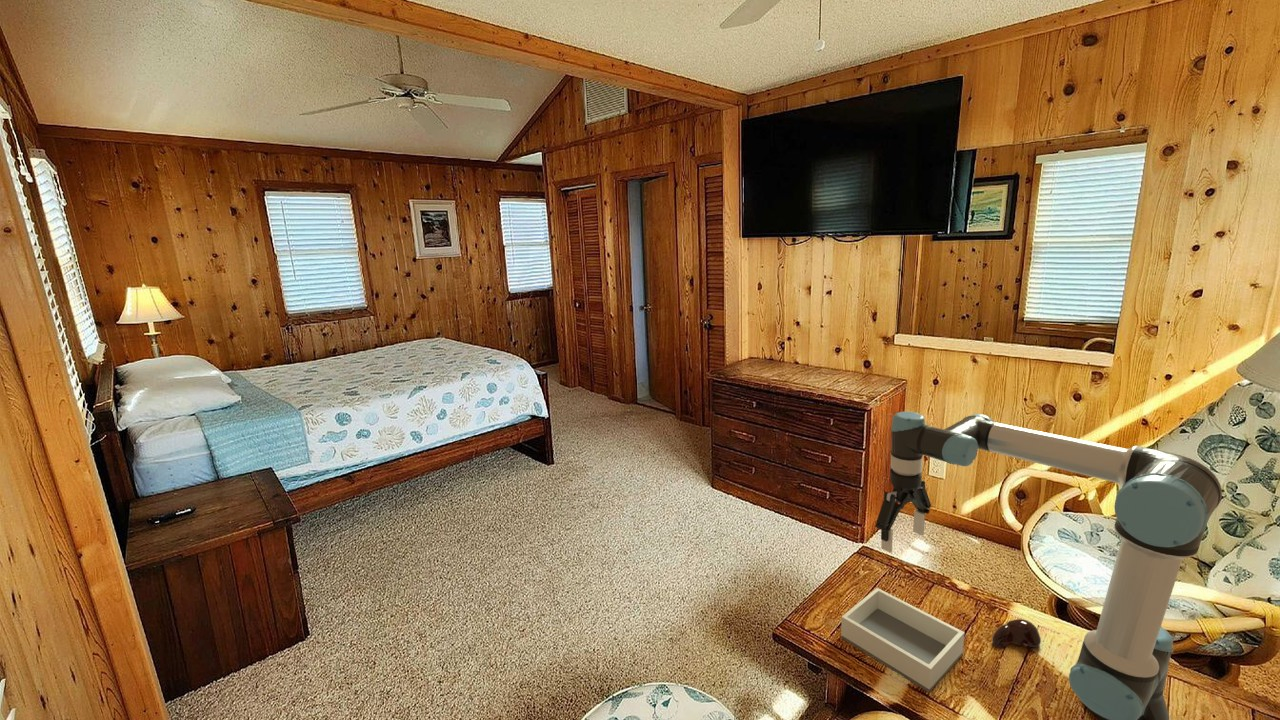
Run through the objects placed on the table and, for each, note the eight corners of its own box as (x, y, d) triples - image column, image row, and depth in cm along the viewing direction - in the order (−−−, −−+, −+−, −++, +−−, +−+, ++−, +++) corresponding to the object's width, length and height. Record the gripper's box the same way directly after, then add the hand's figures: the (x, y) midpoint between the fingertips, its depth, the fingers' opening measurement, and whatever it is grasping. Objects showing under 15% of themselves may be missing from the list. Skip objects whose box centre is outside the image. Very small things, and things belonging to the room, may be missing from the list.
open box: (962, 654, 141) (964, 632, 140) (929, 692, 131) (931, 669, 129) (876, 607, 160) (876, 587, 158) (841, 638, 150) (841, 616, 148)
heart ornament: (1035, 642, 147) (1050, 648, 137) (986, 644, 150) (998, 650, 140) (1027, 616, 149) (1041, 620, 140) (979, 619, 152) (990, 623, 143)
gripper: (921, 452, 151) (918, 520, 156) (861, 478, 139) (860, 550, 144) (948, 461, 144) (943, 532, 149) (887, 488, 133) (885, 564, 138)
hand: (902, 541), depth 147 cm, fingers open, 13 cm apart
